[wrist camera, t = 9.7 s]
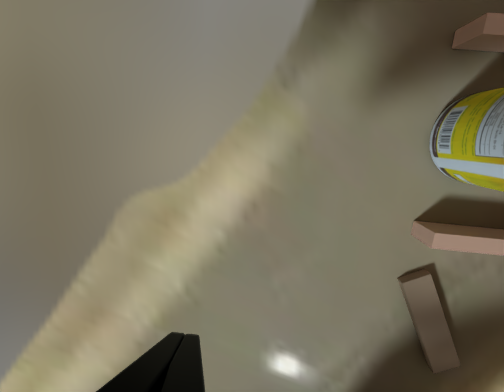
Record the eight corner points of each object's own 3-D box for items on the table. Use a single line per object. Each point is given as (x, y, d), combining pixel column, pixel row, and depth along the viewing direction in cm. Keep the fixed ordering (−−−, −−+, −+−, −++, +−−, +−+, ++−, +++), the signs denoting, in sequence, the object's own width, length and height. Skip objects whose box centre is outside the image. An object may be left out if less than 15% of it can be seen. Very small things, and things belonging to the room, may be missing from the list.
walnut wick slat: (450, 353, 22) (461, 366, 21) (425, 361, 22) (433, 373, 21) (421, 266, 20) (430, 274, 19) (394, 275, 21) (402, 283, 20)
